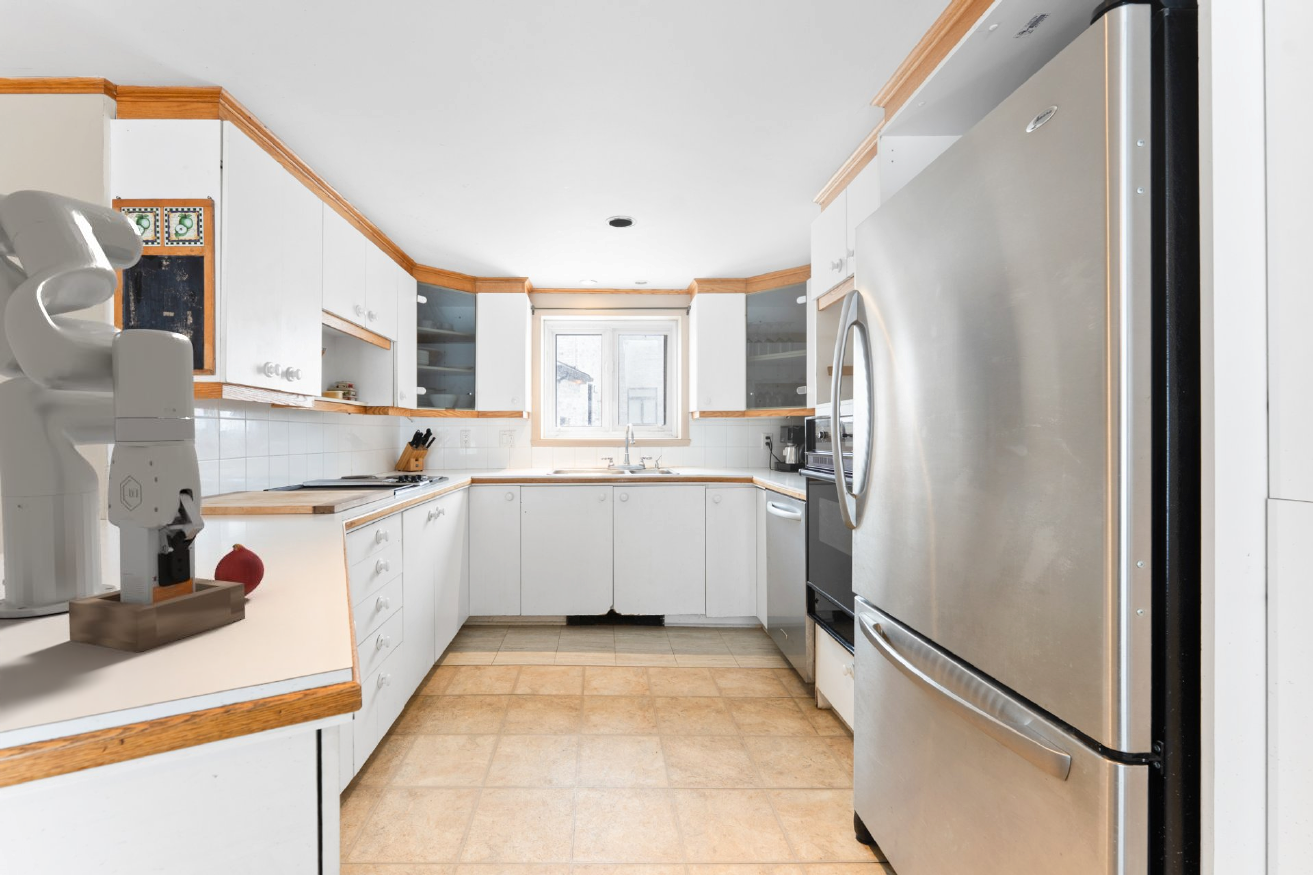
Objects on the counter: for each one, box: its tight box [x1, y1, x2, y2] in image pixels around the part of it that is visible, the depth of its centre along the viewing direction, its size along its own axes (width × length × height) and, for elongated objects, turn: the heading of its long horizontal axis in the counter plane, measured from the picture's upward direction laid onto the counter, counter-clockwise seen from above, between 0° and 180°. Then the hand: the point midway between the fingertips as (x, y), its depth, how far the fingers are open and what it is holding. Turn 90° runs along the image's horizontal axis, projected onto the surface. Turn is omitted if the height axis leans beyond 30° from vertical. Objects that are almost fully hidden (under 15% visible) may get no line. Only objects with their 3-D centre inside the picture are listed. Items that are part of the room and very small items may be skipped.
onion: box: [213, 543, 265, 597], centre depth 85 cm, size 6×6×8 cm
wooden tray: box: [68, 577, 246, 653], centre depth 73 cm, size 12×12×4 cm
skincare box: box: [119, 518, 196, 605], centre depth 73 cm, size 6×4×12 cm
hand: (159, 580), depth 73 cm, fingers closed on skincare box, 4 cm apart
